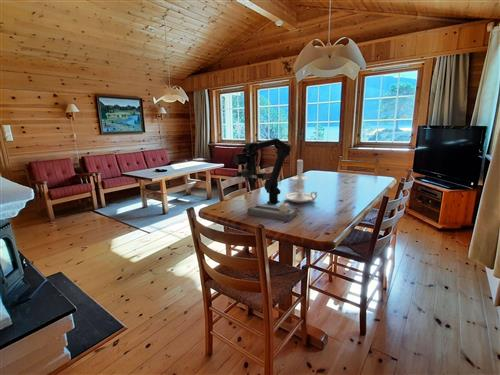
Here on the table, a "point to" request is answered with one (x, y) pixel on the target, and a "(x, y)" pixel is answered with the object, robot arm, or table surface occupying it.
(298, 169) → the candlestick
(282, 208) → the fader knob
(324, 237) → the table surface
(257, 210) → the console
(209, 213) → the table surface
